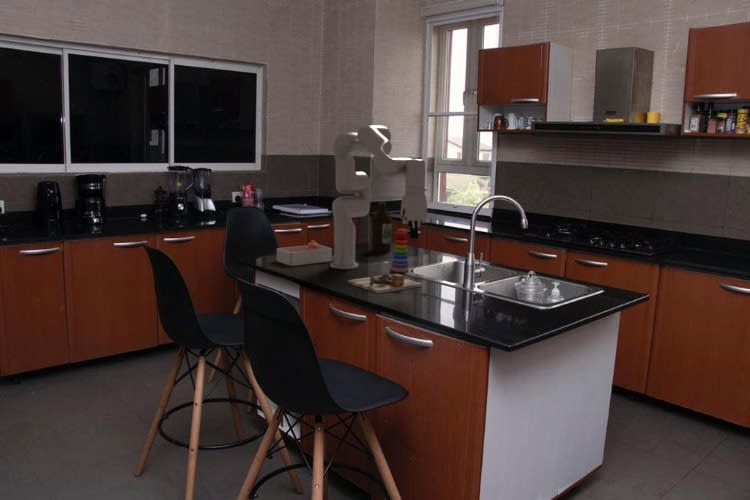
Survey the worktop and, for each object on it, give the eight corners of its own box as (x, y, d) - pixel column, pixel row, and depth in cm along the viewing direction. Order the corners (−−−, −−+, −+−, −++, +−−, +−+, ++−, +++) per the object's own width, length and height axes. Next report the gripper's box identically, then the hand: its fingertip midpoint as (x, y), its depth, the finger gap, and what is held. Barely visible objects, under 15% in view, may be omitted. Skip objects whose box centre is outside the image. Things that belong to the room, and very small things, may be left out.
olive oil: (366, 250, 340) (367, 201, 335) (380, 248, 347) (382, 200, 343) (381, 253, 332) (382, 203, 328) (395, 250, 340) (397, 202, 335)
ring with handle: (369, 280, 265) (369, 270, 264) (387, 277, 270) (387, 268, 270) (391, 287, 253) (391, 277, 253) (409, 284, 259) (410, 274, 258)
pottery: (290, 265, 298) (290, 244, 296) (280, 262, 305) (280, 241, 304) (324, 261, 308) (324, 241, 307) (313, 258, 316) (313, 238, 314)
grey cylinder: (366, 283, 260) (367, 263, 259) (385, 280, 266) (386, 261, 265) (371, 285, 258) (371, 265, 256) (390, 282, 264) (391, 262, 262)
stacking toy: (407, 273, 287) (408, 230, 283) (389, 272, 288) (390, 229, 285) (410, 269, 294) (411, 228, 291) (392, 268, 296) (393, 227, 293)
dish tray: (276, 261, 307) (276, 248, 306) (317, 256, 320) (317, 244, 319) (290, 266, 296) (290, 252, 295) (332, 261, 310) (332, 248, 308)
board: (348, 283, 266) (348, 280, 265) (391, 276, 279) (391, 274, 278) (378, 293, 250) (378, 290, 250) (422, 286, 263) (422, 283, 263)
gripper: (424, 189, 262) (423, 235, 265) (393, 191, 254) (392, 238, 257) (436, 191, 256) (434, 238, 259) (405, 192, 248) (404, 240, 251)
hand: (413, 238), depth 258 cm, fingers closed
